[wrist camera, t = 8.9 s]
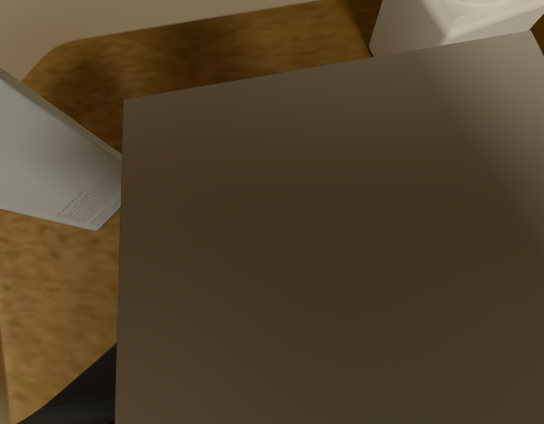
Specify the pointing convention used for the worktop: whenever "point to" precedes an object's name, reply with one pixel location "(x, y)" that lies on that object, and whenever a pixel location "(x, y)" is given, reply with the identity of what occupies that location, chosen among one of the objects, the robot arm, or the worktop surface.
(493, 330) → the walnut block
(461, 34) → the medicine bottle
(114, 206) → the skincare box
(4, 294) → the worktop surface
